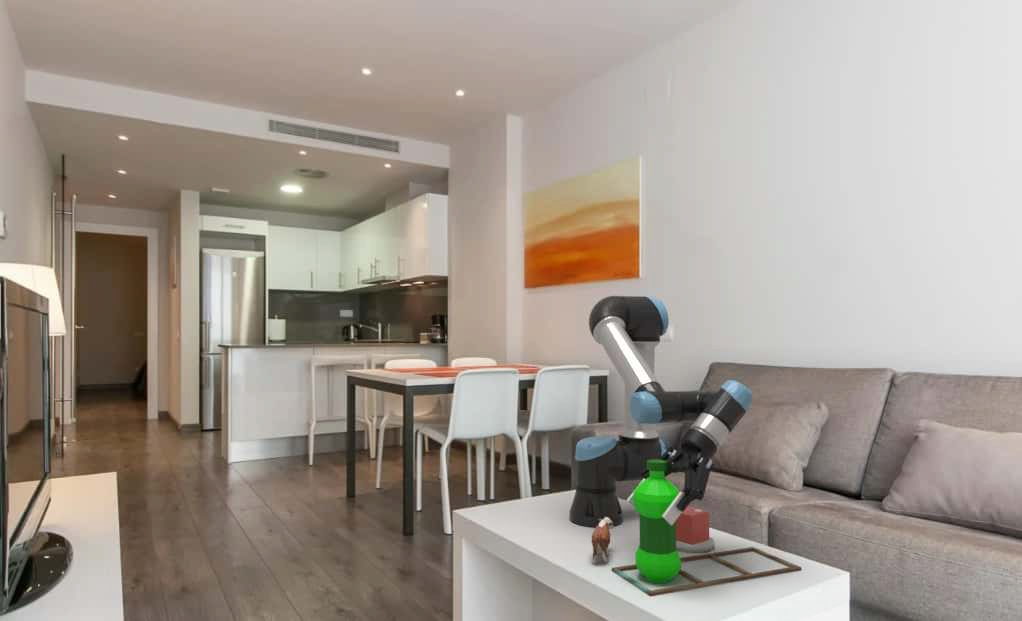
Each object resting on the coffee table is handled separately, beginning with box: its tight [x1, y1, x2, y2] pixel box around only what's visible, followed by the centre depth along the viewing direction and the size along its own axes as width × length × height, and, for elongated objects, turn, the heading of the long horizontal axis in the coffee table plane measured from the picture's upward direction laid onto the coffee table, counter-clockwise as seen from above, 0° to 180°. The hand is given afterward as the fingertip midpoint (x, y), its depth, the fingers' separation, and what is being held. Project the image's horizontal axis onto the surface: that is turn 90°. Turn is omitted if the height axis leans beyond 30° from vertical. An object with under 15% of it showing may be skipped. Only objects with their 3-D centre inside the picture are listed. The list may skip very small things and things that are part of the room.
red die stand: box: [676, 505, 715, 554], centre depth 156 cm, size 12×12×9 cm
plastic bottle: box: [633, 459, 682, 584], centre depth 134 cm, size 10×10×25 cm
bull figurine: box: [591, 517, 614, 565], centre depth 147 cm, size 4×13×8 cm, turn 161°
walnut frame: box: [611, 546, 802, 597], centre depth 138 cm, size 15×40×1 cm, turn 111°
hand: (648, 512), depth 134 cm, fingers open, 13 cm apart
